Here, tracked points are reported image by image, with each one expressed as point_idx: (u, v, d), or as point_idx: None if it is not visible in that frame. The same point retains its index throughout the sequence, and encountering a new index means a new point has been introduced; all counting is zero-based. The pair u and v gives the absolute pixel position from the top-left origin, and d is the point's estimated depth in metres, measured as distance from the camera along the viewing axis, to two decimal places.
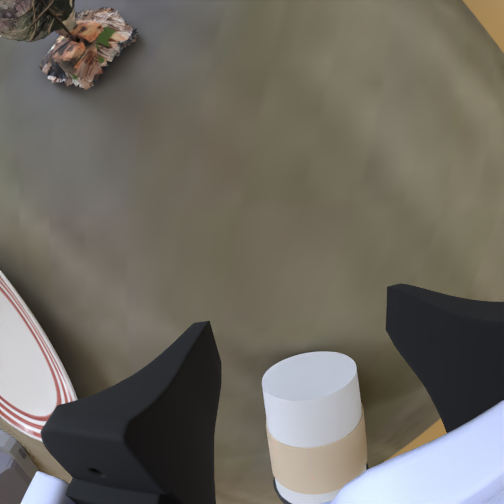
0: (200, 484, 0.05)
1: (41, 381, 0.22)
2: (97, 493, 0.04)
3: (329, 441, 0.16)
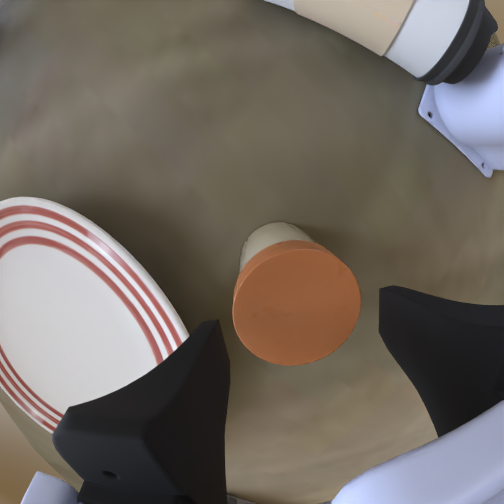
0: (213, 484, 0.05)
1: (106, 316, 0.19)
2: (110, 496, 0.04)
3: None
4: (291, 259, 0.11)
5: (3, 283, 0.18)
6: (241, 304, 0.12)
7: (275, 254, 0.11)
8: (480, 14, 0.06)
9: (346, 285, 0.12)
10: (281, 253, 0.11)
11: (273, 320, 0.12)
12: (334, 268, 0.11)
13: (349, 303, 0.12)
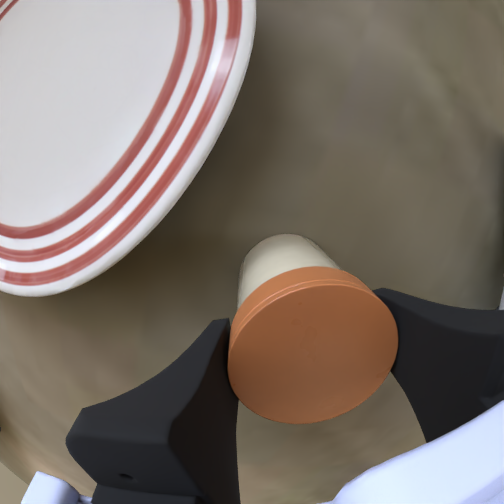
0: (228, 483, 0.05)
1: (113, 105, 0.12)
2: (125, 499, 0.04)
3: None
4: (383, 323, 0.08)
5: None
6: (305, 298, 0.08)
7: None
8: None
9: (366, 388, 0.09)
10: (387, 309, 0.08)
11: (297, 346, 0.08)
12: (382, 367, 0.08)
13: (345, 402, 0.09)
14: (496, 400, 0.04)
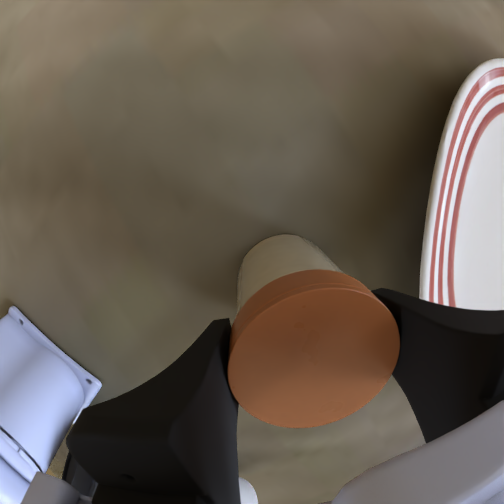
0: (228, 483, 0.05)
1: (473, 269, 0.15)
2: (126, 499, 0.04)
3: None
4: (386, 328, 0.08)
5: None
6: (309, 301, 0.08)
7: (387, 308, 0.08)
8: None
9: (366, 393, 0.09)
10: (390, 314, 0.08)
11: (299, 350, 0.08)
12: (383, 373, 0.08)
13: (345, 407, 0.09)
14: (495, 400, 0.04)
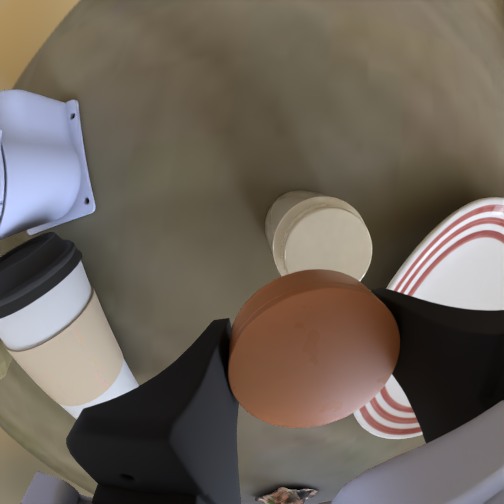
0: (229, 483, 0.05)
1: None
2: (126, 499, 0.04)
3: (65, 406, 0.15)
4: (386, 328, 0.08)
5: None
6: (309, 301, 0.08)
7: (387, 308, 0.08)
8: None
9: (366, 393, 0.09)
10: (390, 314, 0.08)
11: (299, 350, 0.08)
12: (383, 372, 0.08)
13: (345, 407, 0.09)
14: (495, 400, 0.04)
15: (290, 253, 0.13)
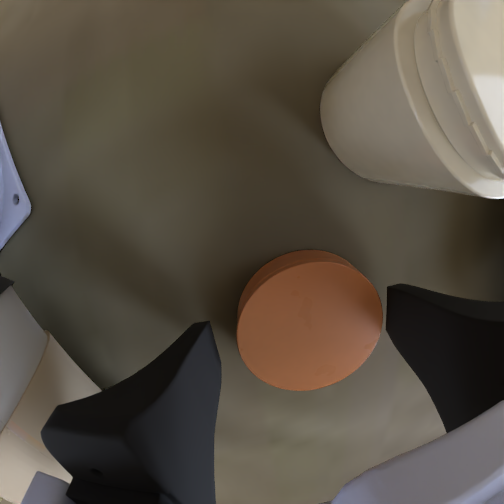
0: (200, 484, 0.05)
1: None
2: (98, 493, 0.04)
3: None
4: (369, 298, 0.10)
5: None
6: (303, 273, 0.09)
7: (369, 281, 0.10)
8: None
9: (356, 358, 0.10)
10: (372, 286, 0.10)
11: (296, 315, 0.10)
12: (369, 339, 0.10)
13: (338, 371, 0.11)
14: None
15: (476, 71, 0.03)
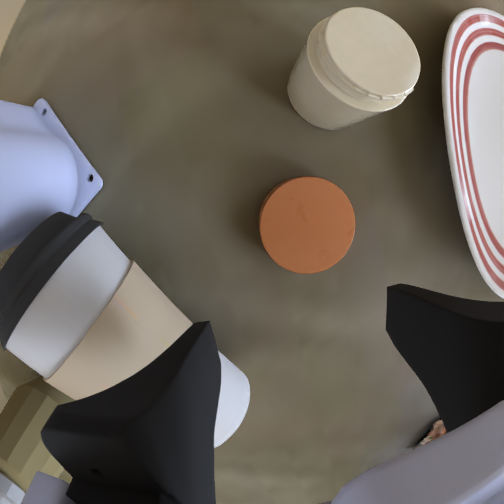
0: (200, 484, 0.05)
1: (485, 147, 0.15)
2: (98, 493, 0.04)
3: None
4: (339, 197, 0.16)
5: None
6: (293, 185, 0.15)
7: (336, 186, 0.16)
8: (7, 307, 0.08)
9: (343, 243, 0.16)
10: (339, 189, 0.16)
11: (295, 213, 0.16)
12: (349, 227, 0.16)
13: (333, 254, 0.17)
14: None
15: (338, 56, 0.09)
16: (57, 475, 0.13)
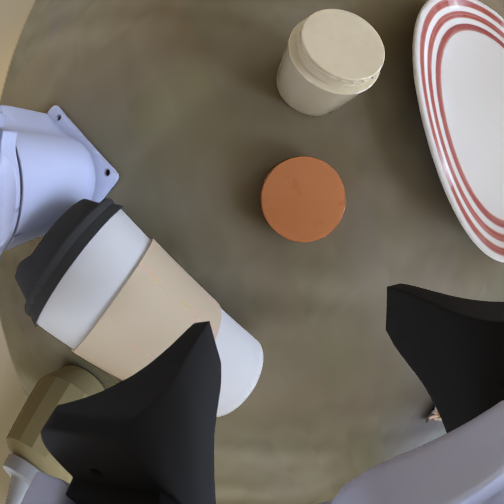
0: (200, 484, 0.05)
1: (461, 120, 0.17)
2: (97, 493, 0.04)
3: None
4: (329, 172, 0.18)
5: None
6: (288, 164, 0.18)
7: (325, 163, 0.18)
8: (43, 277, 0.10)
9: (336, 212, 0.18)
10: (328, 165, 0.18)
11: (291, 188, 0.18)
12: (340, 198, 0.18)
13: (328, 223, 0.19)
14: None
15: (313, 52, 0.11)
16: None
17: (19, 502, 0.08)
